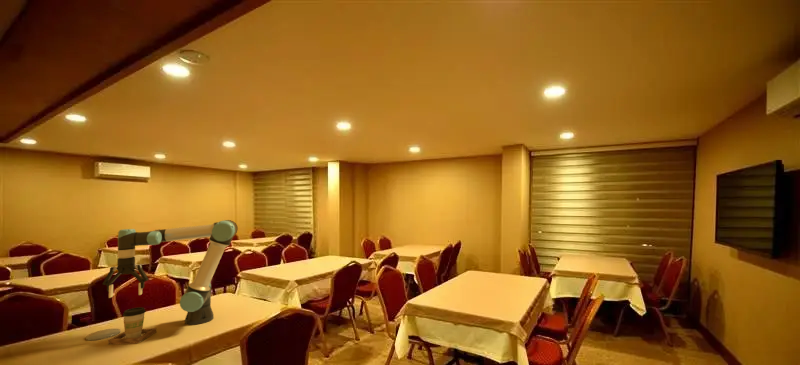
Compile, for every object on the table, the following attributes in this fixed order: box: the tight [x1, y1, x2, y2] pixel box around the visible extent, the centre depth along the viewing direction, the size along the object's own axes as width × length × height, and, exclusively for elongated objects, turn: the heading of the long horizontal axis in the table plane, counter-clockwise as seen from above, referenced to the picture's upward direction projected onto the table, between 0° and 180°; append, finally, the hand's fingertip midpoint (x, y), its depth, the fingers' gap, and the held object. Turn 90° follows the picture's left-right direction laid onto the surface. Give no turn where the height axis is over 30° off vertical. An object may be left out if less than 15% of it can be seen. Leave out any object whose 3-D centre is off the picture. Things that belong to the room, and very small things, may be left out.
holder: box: [108, 327, 157, 345], centre depth 177 cm, size 14×14×2 cm
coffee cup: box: [122, 306, 147, 338], centre depth 178 cm, size 10×10×15 cm
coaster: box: [85, 328, 121, 342], centre depth 182 cm, size 14×14×1 cm
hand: (125, 295), depth 181 cm, fingers open, 13 cm apart
